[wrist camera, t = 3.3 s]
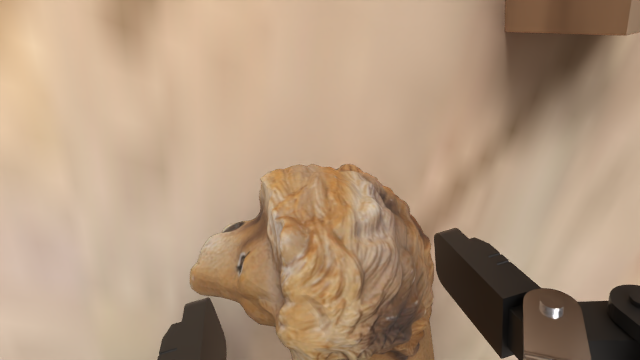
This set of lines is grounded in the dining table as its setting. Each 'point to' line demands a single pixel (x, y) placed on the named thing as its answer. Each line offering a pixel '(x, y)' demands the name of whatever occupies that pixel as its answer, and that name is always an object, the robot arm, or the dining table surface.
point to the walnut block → (573, 16)
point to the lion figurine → (327, 267)
